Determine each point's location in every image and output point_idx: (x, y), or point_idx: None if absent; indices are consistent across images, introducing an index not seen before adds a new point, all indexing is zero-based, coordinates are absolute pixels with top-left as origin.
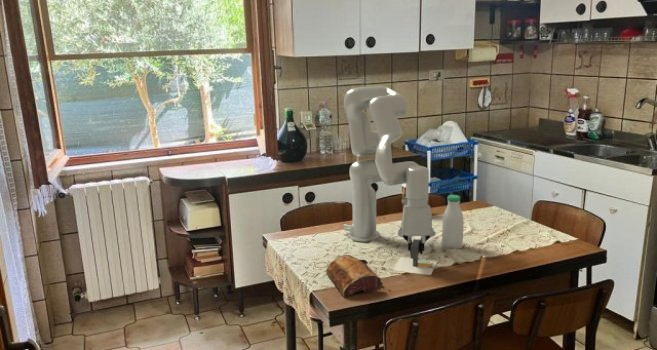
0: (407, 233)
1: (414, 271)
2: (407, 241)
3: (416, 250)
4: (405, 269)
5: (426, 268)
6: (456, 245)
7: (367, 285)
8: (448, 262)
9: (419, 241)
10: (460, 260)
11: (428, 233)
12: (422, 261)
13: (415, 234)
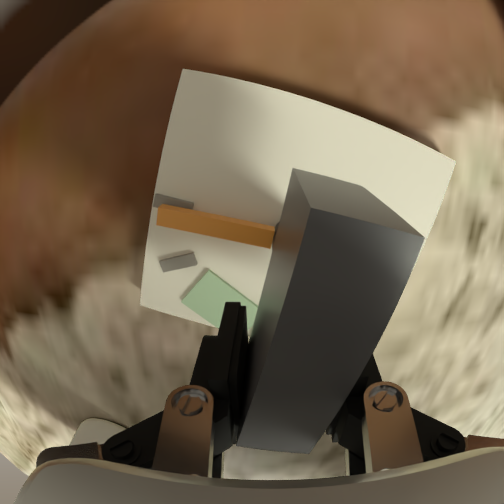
0: (489, 478)
1: (308, 125)
2: (402, 404)
3: (316, 194)
4: (373, 166)
5: (208, 187)
6: (87, 429)
7: None
8: (94, 317)
9: (248, 410)
10: (54, 332)
11: (62, 483)
12: (232, 300)
13: (339, 500)
